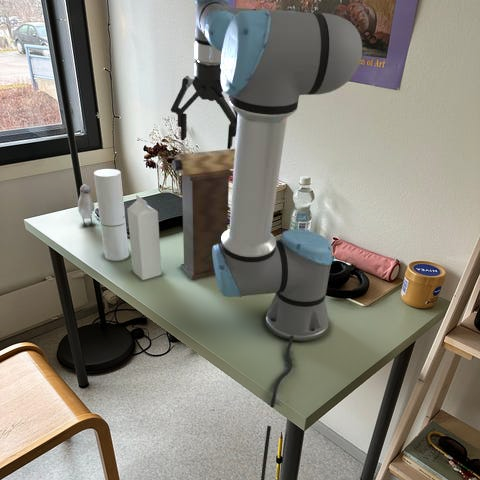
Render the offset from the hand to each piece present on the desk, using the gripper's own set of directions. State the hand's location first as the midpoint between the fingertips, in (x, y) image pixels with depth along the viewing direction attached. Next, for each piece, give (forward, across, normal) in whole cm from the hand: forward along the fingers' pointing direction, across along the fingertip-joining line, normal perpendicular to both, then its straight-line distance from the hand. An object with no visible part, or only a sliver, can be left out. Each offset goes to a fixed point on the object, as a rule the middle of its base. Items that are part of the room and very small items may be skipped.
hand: (206, 142), depth 134 cm
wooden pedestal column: (+28, -7, +21) cm, 36 cm away
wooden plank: (0, -8, +14) cm, 16 cm away
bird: (+35, +40, +3) cm, 53 cm away
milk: (+28, +8, +28) cm, 41 cm away
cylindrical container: (+31, +21, +20) cm, 43 cm away
